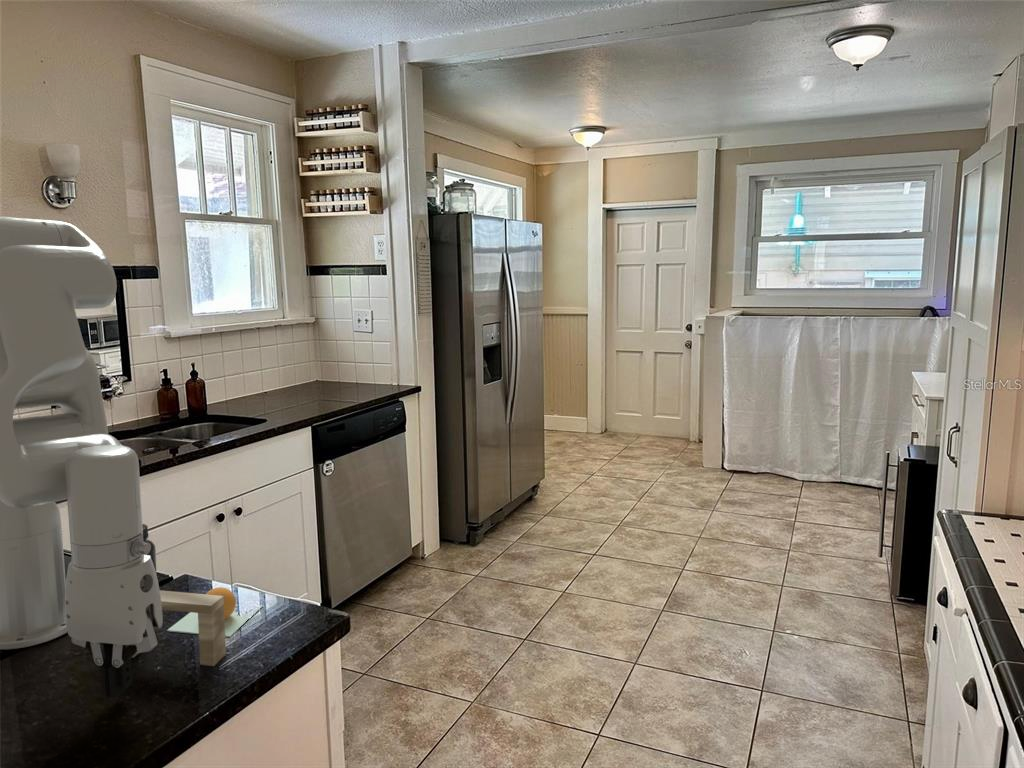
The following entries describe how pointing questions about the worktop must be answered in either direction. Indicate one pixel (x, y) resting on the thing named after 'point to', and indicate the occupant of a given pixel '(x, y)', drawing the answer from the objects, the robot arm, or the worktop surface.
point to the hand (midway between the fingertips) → (117, 690)
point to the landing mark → (191, 626)
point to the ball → (225, 599)
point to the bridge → (202, 621)
